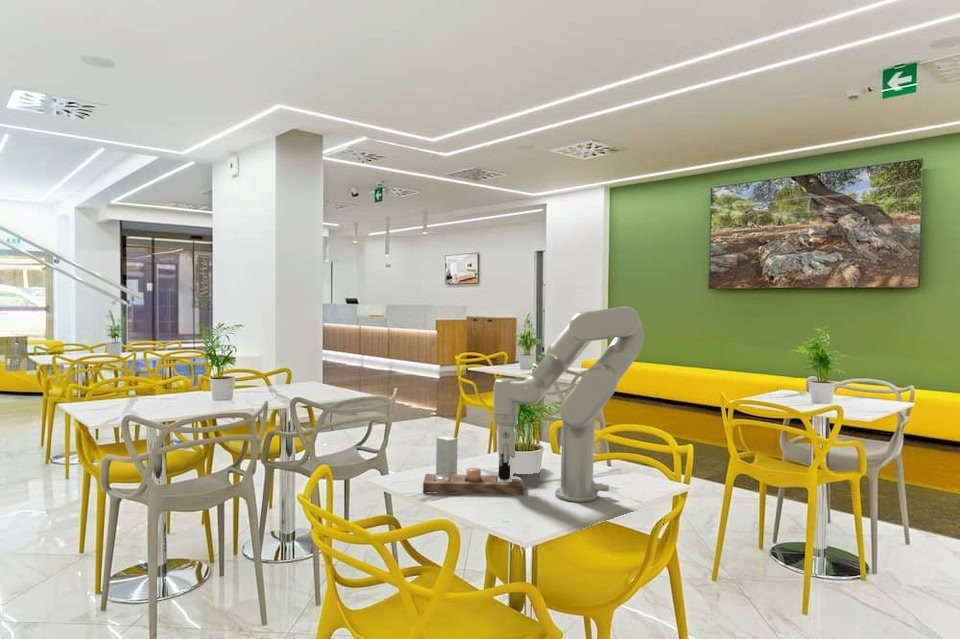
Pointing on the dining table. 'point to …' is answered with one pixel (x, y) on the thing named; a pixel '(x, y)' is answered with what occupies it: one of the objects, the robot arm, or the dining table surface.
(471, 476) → the peach knob
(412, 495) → the dining table surface
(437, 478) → the steel knob
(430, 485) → the walnut mount
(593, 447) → the robot arm
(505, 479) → the steel knob
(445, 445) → the skincare box
